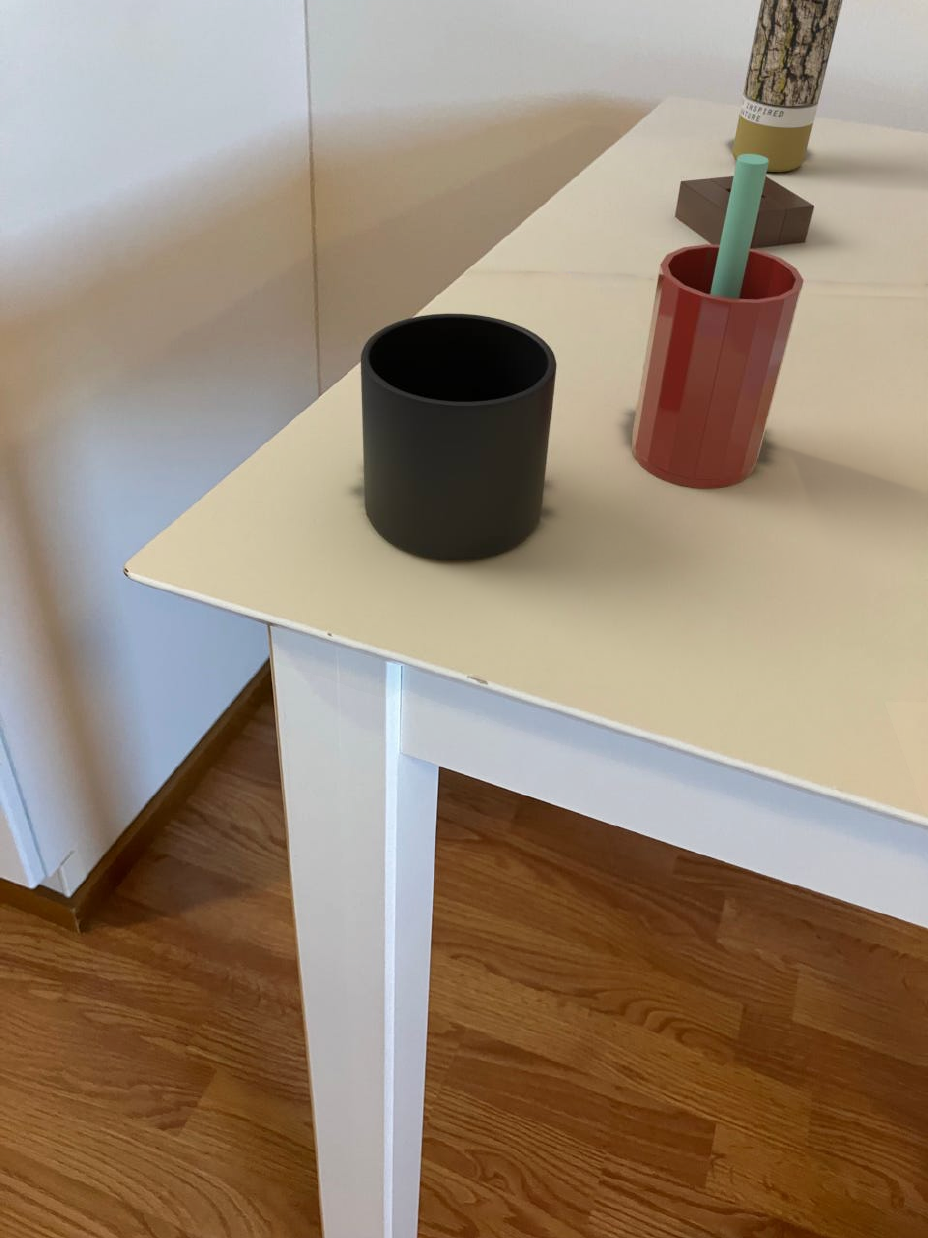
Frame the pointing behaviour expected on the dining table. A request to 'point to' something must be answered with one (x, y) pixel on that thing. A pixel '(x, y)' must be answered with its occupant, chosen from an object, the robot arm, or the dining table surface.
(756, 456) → the cup
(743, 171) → the straw
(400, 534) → the mug
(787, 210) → the holder
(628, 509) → the dining table surface
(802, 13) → the paper tube
